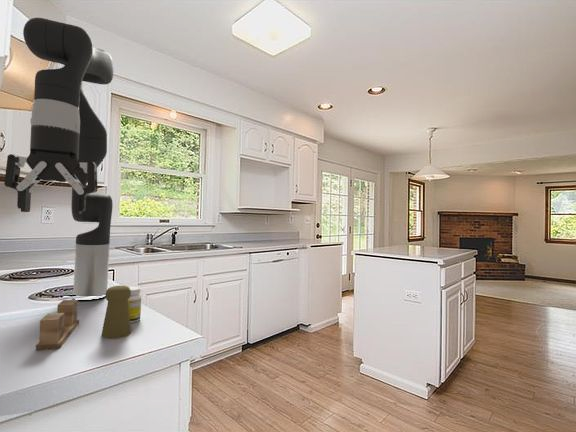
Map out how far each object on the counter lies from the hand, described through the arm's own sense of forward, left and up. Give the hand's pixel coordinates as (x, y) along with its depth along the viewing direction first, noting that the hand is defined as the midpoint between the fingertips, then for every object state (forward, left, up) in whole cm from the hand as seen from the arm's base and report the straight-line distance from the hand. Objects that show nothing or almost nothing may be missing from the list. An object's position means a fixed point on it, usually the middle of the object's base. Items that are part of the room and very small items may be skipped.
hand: (52, 212), depth 61 cm
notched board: (-11, -1, -28) cm, 30 cm away
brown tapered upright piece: (-9, +11, -28) cm, 31 cm away
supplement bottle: (-18, +13, -28) cm, 36 cm away
